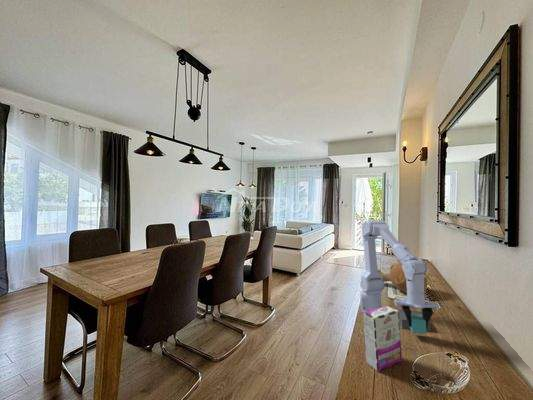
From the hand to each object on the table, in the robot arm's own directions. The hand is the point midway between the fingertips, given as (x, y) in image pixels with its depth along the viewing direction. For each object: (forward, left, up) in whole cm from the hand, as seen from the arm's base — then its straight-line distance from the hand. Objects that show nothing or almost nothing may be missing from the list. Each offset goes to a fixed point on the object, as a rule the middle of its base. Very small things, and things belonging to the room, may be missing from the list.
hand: (417, 326), depth 89 cm
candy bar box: (-15, -19, -4) cm, 25 cm away
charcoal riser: (+1, +11, -4) cm, 12 cm away
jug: (+6, +55, -4) cm, 55 cm away
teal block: (0, 0, -1) cm, 1 cm away
